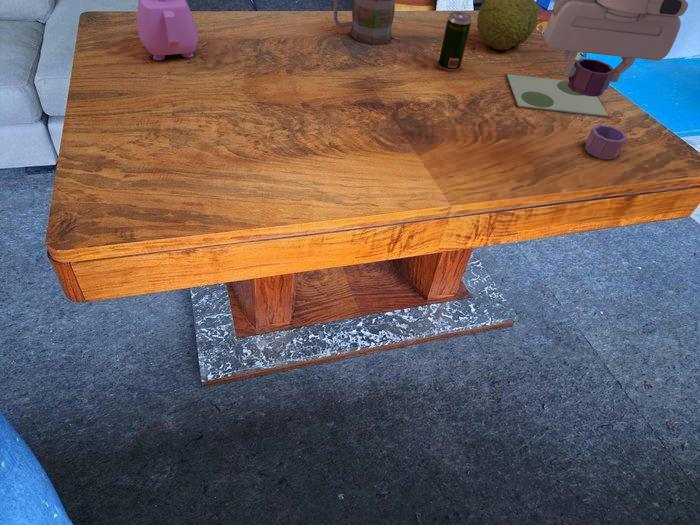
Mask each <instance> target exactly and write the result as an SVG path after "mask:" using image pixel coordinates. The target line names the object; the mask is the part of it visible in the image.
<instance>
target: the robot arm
mask: <svg viewBox="0 0 700 525" xmlns="http://www.w3.org/2000/svg"><path fill="white" fill-rule="evenodd" d="M688 7H689V2H688V1H687V0H554V3H553V7H552V13H551V14H550V17H549V19H548V21H547V24H546V26H545V28H544V31H543V34H542V40H543V42H544V44H545V46H546V47H547V48H548V49H549V50H554V51H564V52H563V53H564V59H565V64H566V65H565V68H564V70H563V76H564V78H569V77H572V78H574V76H575V73H576V71H577V67H576V65H575V63H573V59H576V58H577V55H578V53H582V54H592V55H600V56H610V57H619V58H620V59H621V60H622V61H620V62H619V63H618V64H617V65H616V66H614V67H612V68H613V69H614V71H615V72H614V75H613V77H612V79H611V81H610V83H618V81H619V80H620V78H621V75H622V74H623V73H625V72H626V71H627V70H628V69H630V68H631V67H632V66H633V65H634V63H635V61H636V60H645V61H646V60H647V61H655V62H660V61H661V60H663V59H664V58H666V57H667V56H668V55H669V53H670V52H671V51H672V48H673V46H674V43H675V42H676V40H677V37H678V34H679V32H680V29H681V26H682V25H681V24H682V21H681V18H680V17H682V16H684V14H685V13H686V11H687V10H688Z"/></svg>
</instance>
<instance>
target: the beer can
mask: <svg viewBox="0 0 700 525" xmlns="http://www.w3.org/2000/svg"><path fill="white" fill-rule="evenodd" d="M471 24H472V16H471V14H469V13H468V12H463V11H458V10H457V11H456V10H455V11H451V12H450V13H449V15H448V17H447V19H446V24H445V29H444V34H443V40H442V44H441V49H440V54H439V58H438V68H440V70H442V71H445V72H450V73H451V72H452V73H453V72H457V71H458V70H460V68H461V66H462V61H463V58H464V53H465V49H466V45H467V41H468V38H469V34H470V28H471Z"/></svg>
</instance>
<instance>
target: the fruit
mask: <svg viewBox="0 0 700 525" xmlns="http://www.w3.org/2000/svg"><path fill="white" fill-rule="evenodd" d="M539 11H540V9H539V7H538V5H537V2H535V0H484V1H483V3H481V5H480V8H479V10H478V14H477V18H476V22H477V25H476V29H477V31H478V33H479V36H480V38H481V40H482V41H483V42H484V43H485V44H486V45H487V46H489V47H490V48H492V49H493V50H501V51H503V50H504V51H506V50H507V51H508V50H509V49H511V48H512V47H514V46H515V47H516V46H519V45H521V44H523V43H525V42H526V41H527V40H528V38H530V37H531V35H532V33H533V32H534V31H535V29H536V27H537V24H538V23H537V22H538V20H539Z"/></svg>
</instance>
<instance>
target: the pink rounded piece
mask: <svg viewBox="0 0 700 525" xmlns="http://www.w3.org/2000/svg"><path fill="white" fill-rule="evenodd" d="M192 13H193V12H192V11H191V9H190V6H189V4H188V3H187V0H138V2H137V12H136V28H137V34H138V38H139V40H140V42H141V44H142V45H143V47H144V48H145V49H146V50H147V52H149V54H151V55H153V56H152V57H153V58H152V59H153V60H155V61H162V60H163V61H164V59H166V56H171V55H172V56H173V55H181V57H183V58H193V57H194V53H193V52H195V51H196V50H197V47H198V43H199V35H198V34H199V33H198V30H197V26H196V21H195V18H194V15H193V14H192Z"/></svg>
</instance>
